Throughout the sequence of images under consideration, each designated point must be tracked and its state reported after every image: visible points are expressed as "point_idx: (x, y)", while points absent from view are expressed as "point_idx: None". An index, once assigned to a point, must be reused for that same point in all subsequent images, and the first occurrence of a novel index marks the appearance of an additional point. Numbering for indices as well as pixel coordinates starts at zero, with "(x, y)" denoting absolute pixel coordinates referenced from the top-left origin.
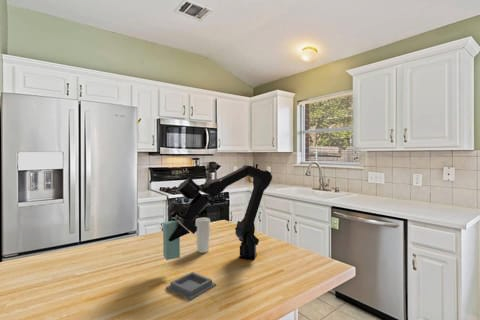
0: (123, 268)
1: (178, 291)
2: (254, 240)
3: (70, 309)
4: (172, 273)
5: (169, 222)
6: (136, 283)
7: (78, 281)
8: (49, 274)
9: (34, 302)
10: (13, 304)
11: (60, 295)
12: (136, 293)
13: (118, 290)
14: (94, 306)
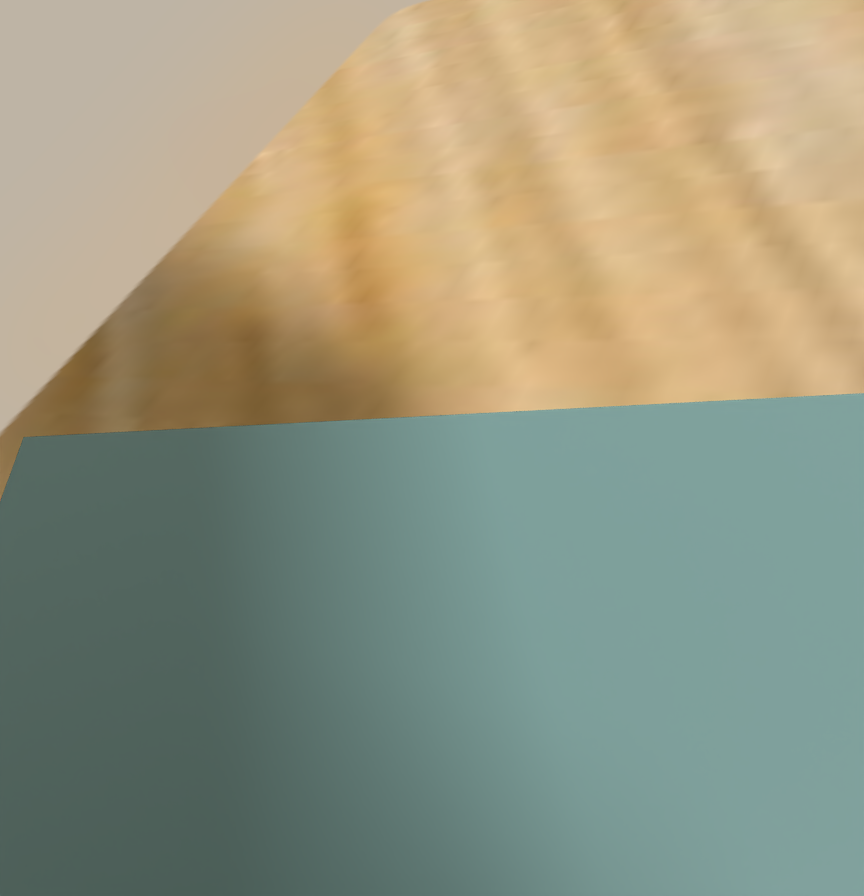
0: (763, 361)
1: None
2: None
3: (298, 163)
4: None
5: (655, 840)
6: None
7: (618, 147)
8: (779, 28)
9: (452, 51)
10: (474, 5)
11: (471, 110)
12: None
13: (374, 332)
14: (259, 239)
